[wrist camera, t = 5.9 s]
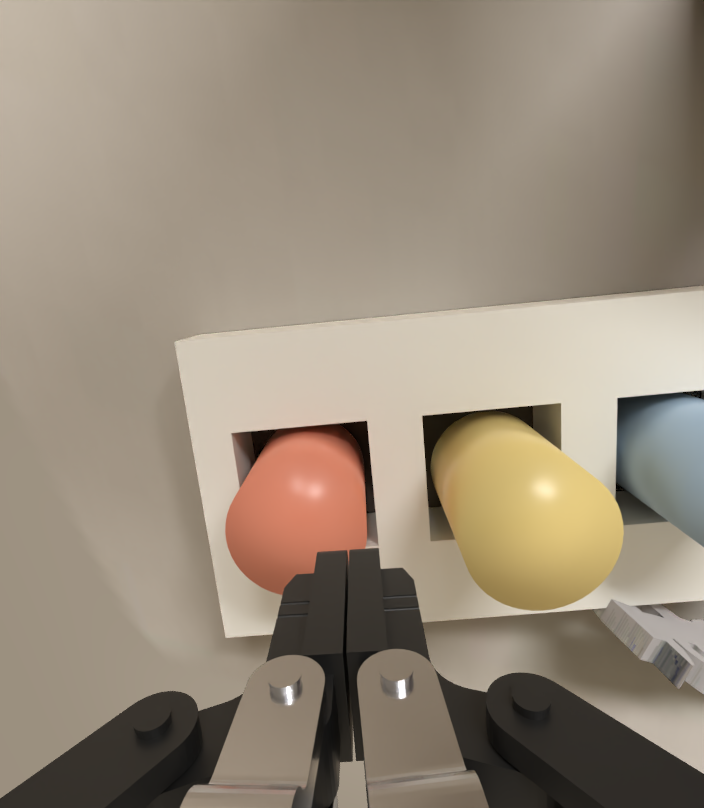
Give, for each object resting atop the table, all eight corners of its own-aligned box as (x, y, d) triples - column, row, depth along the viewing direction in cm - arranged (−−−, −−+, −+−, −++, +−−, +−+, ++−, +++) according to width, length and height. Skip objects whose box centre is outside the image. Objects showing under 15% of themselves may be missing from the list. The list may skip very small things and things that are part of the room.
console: (200, 334, 21) (174, 341, 18) (745, 281, 20) (813, 279, 17) (242, 594, 23) (225, 638, 20) (725, 554, 23) (781, 594, 20)
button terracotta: (254, 422, 21) (214, 473, 15) (359, 412, 21) (360, 459, 15) (268, 518, 22) (236, 602, 16) (368, 510, 22) (373, 590, 16)
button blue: (592, 391, 21) (685, 430, 15) (701, 381, 20) (839, 417, 15) (591, 491, 22) (679, 566, 16) (695, 482, 21) (823, 554, 16)
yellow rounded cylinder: (426, 416, 19) (458, 471, 13) (542, 405, 19) (625, 456, 13) (434, 521, 20) (465, 616, 14) (544, 512, 20) (622, 604, 14)
